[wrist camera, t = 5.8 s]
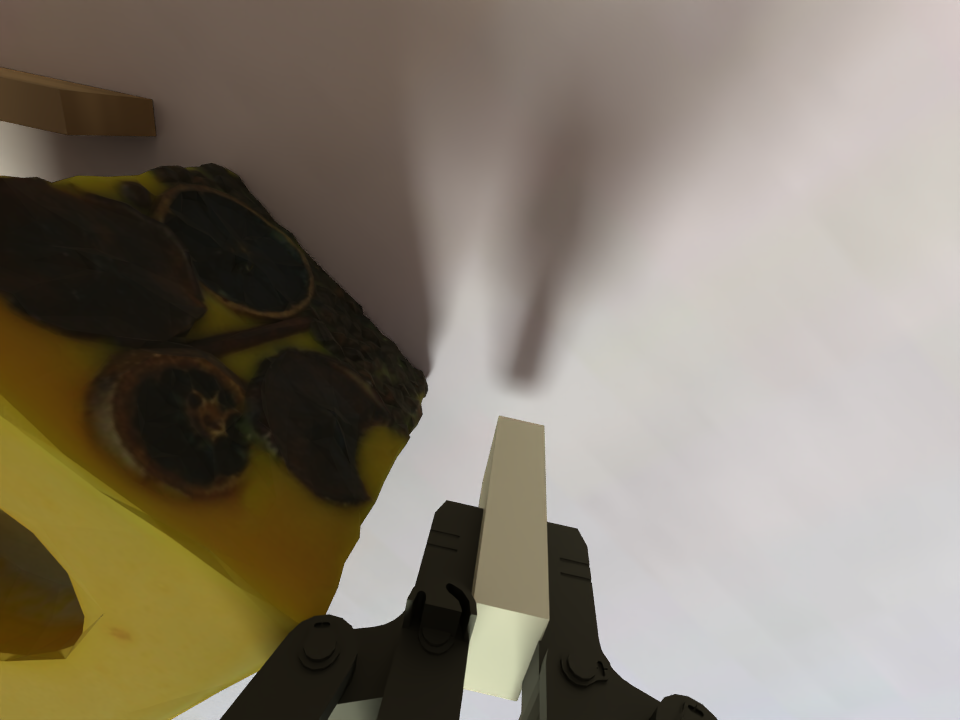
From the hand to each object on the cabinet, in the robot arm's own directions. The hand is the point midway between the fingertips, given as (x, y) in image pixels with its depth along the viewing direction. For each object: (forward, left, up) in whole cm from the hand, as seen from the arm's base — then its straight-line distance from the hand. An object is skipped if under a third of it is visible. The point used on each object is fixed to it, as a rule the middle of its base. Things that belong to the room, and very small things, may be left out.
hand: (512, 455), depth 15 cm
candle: (-10, 0, -3) cm, 10 cm away
